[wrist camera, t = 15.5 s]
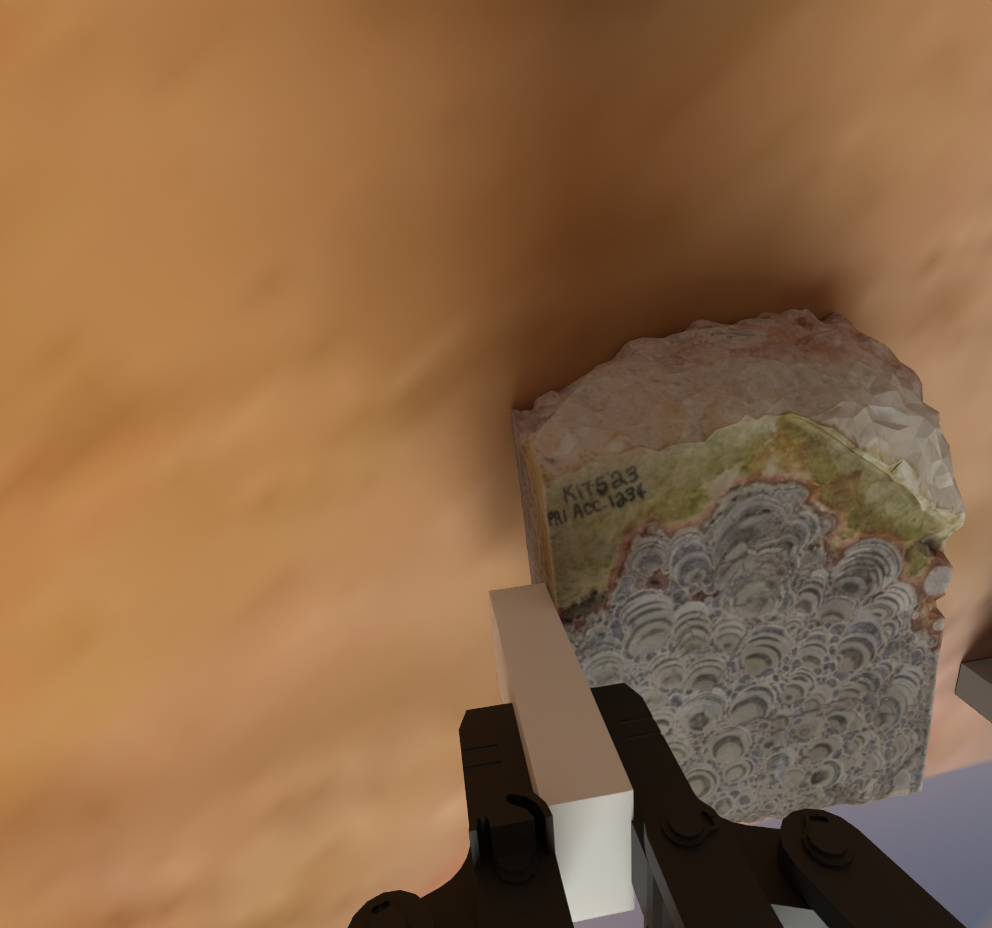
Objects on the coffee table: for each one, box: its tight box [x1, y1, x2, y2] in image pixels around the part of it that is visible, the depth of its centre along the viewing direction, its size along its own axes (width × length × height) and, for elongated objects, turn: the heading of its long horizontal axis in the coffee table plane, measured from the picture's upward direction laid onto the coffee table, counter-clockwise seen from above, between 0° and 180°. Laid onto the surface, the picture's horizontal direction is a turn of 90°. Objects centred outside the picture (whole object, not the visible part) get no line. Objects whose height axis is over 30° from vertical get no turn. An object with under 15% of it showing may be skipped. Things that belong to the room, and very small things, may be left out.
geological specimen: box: [511, 308, 966, 823], centre depth 18 cm, size 11×6×15 cm
